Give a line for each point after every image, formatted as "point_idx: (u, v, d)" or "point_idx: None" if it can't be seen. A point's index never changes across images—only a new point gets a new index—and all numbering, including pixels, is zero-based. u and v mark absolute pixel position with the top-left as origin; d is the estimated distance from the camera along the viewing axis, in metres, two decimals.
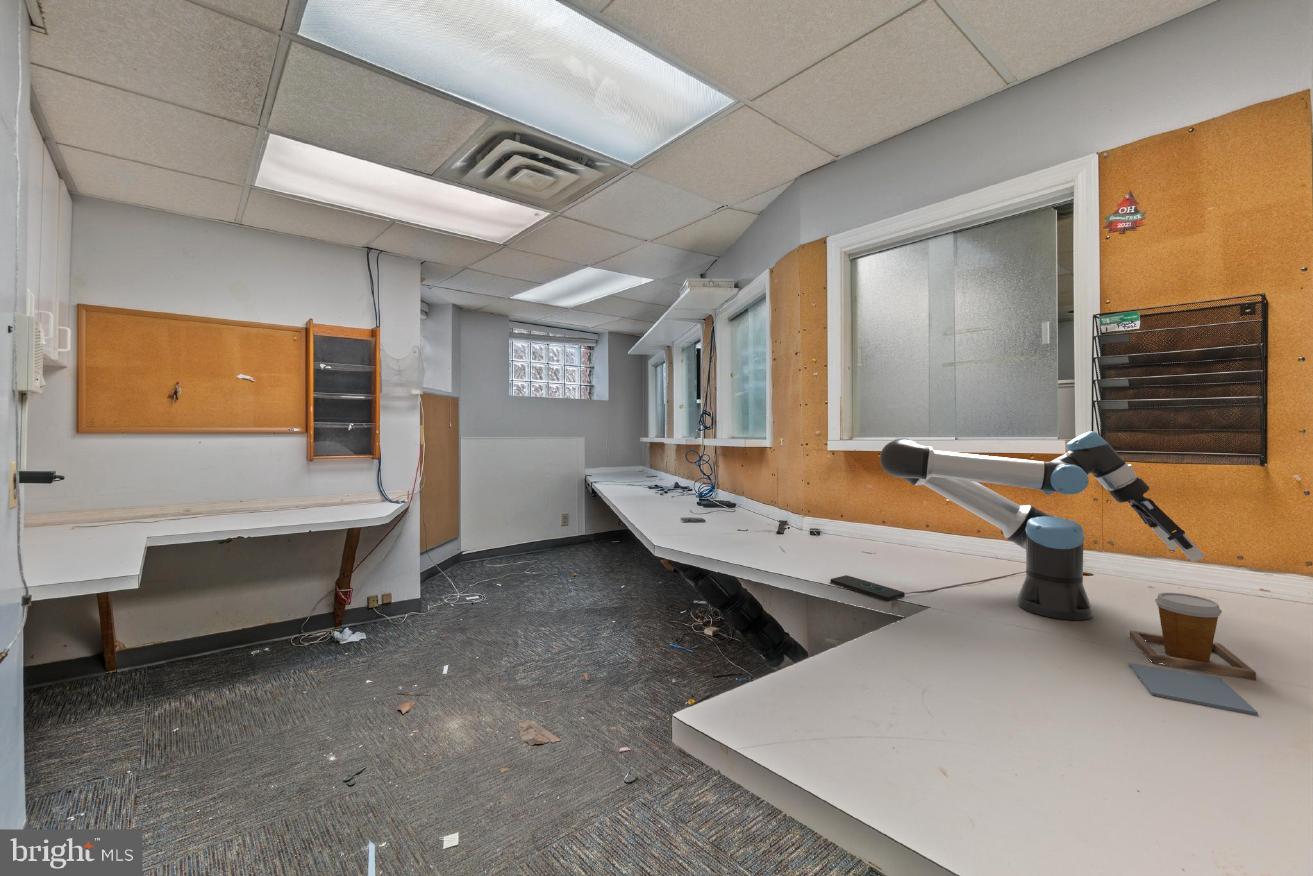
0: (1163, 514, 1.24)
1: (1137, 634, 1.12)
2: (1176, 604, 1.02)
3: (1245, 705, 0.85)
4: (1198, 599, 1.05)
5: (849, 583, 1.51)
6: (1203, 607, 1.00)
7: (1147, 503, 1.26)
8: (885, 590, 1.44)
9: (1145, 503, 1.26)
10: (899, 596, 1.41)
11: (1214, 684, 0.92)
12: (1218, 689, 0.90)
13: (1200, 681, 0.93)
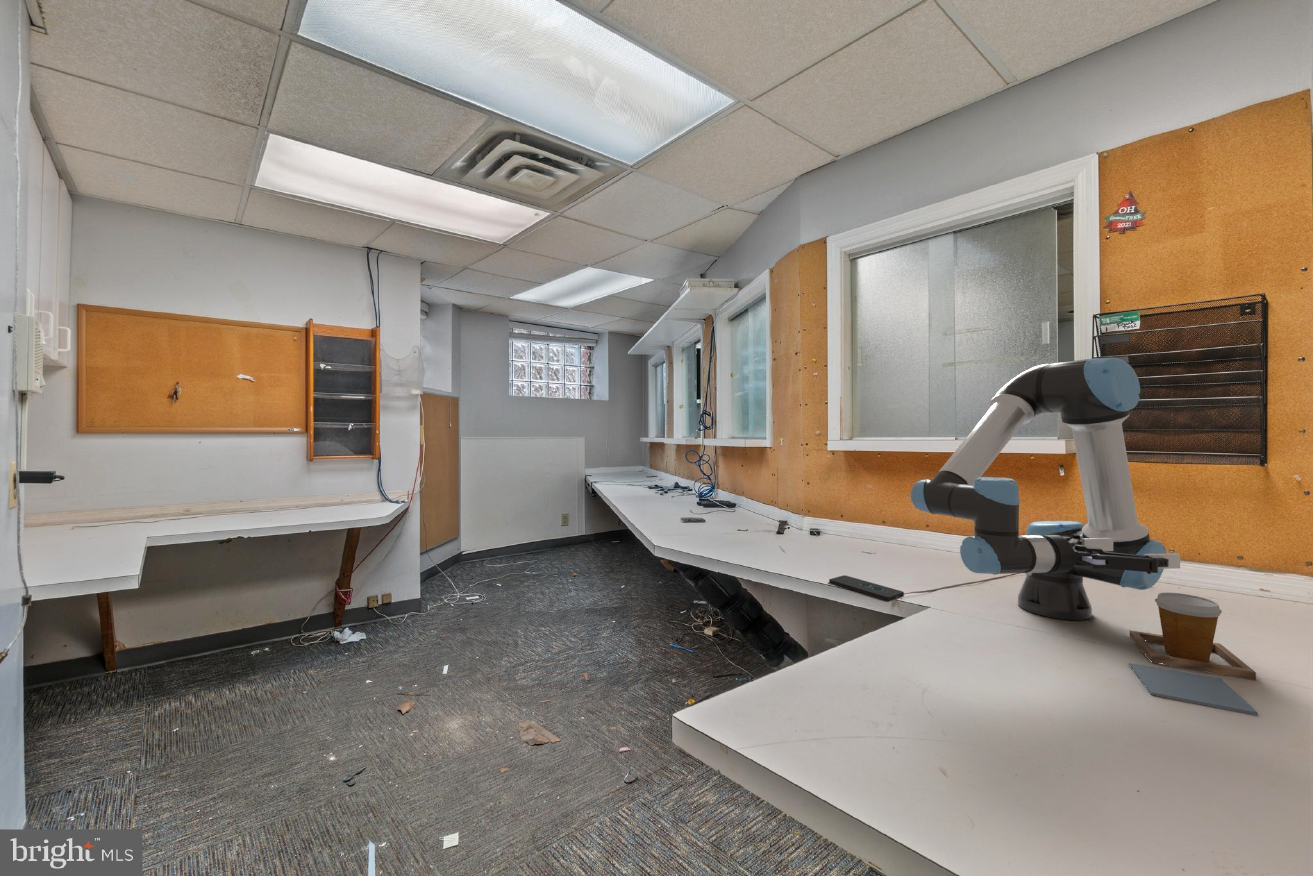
0: None
1: (1137, 634, 1.12)
2: (1176, 604, 1.02)
3: (1245, 705, 0.85)
4: (1198, 599, 1.05)
5: (848, 583, 1.51)
6: (1203, 607, 1.00)
7: None
8: (885, 590, 1.45)
9: None
10: (899, 596, 1.42)
11: (1214, 684, 0.92)
12: (1218, 689, 0.90)
13: (1200, 681, 0.93)
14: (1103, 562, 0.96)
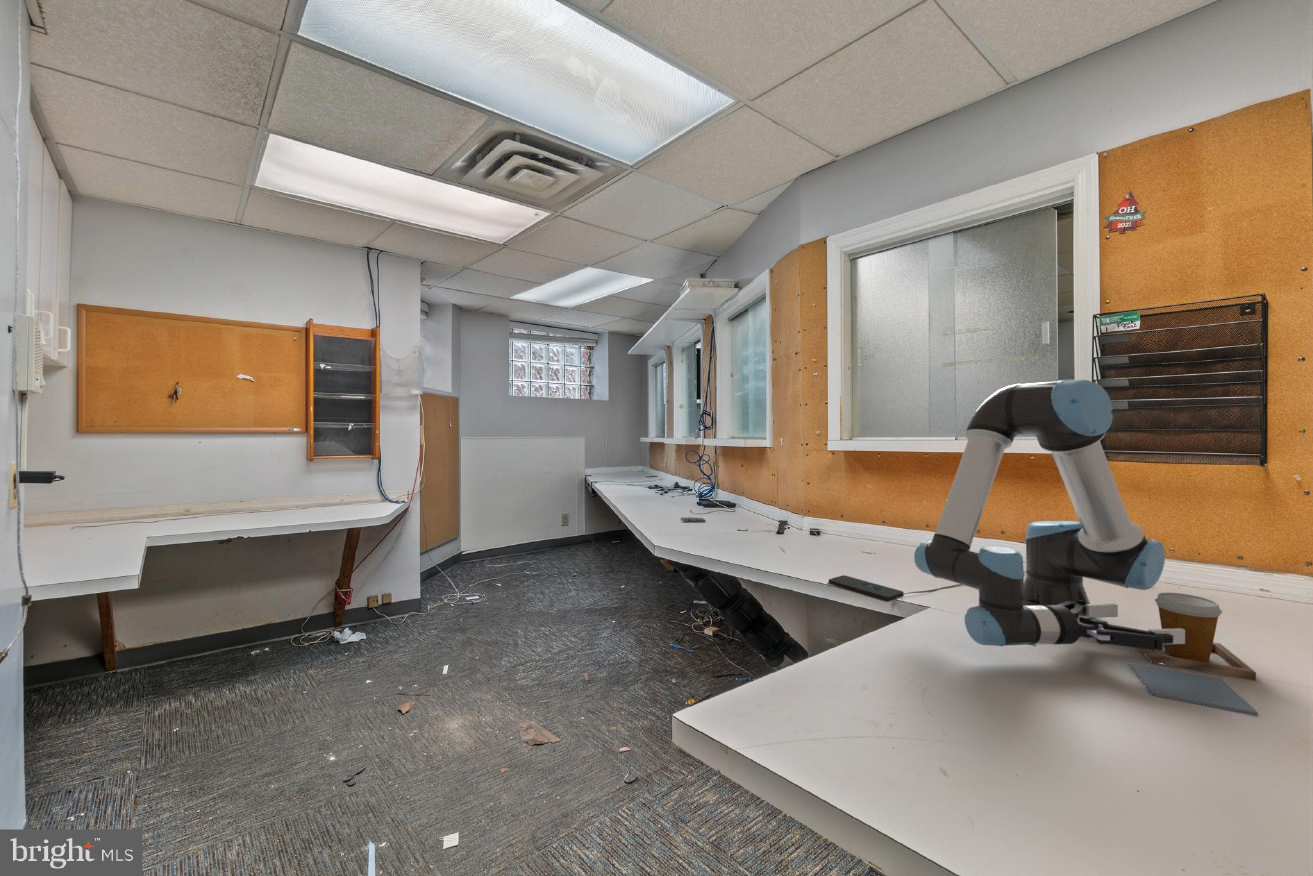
0: None
1: None
2: (1176, 604, 1.02)
3: (1245, 705, 0.85)
4: (1198, 599, 1.05)
5: (848, 583, 1.51)
6: (1203, 607, 1.00)
7: None
8: (885, 590, 1.45)
9: None
10: (899, 596, 1.42)
11: (1214, 684, 0.92)
12: (1218, 689, 0.90)
13: (1200, 681, 0.93)
14: (1108, 638, 0.96)
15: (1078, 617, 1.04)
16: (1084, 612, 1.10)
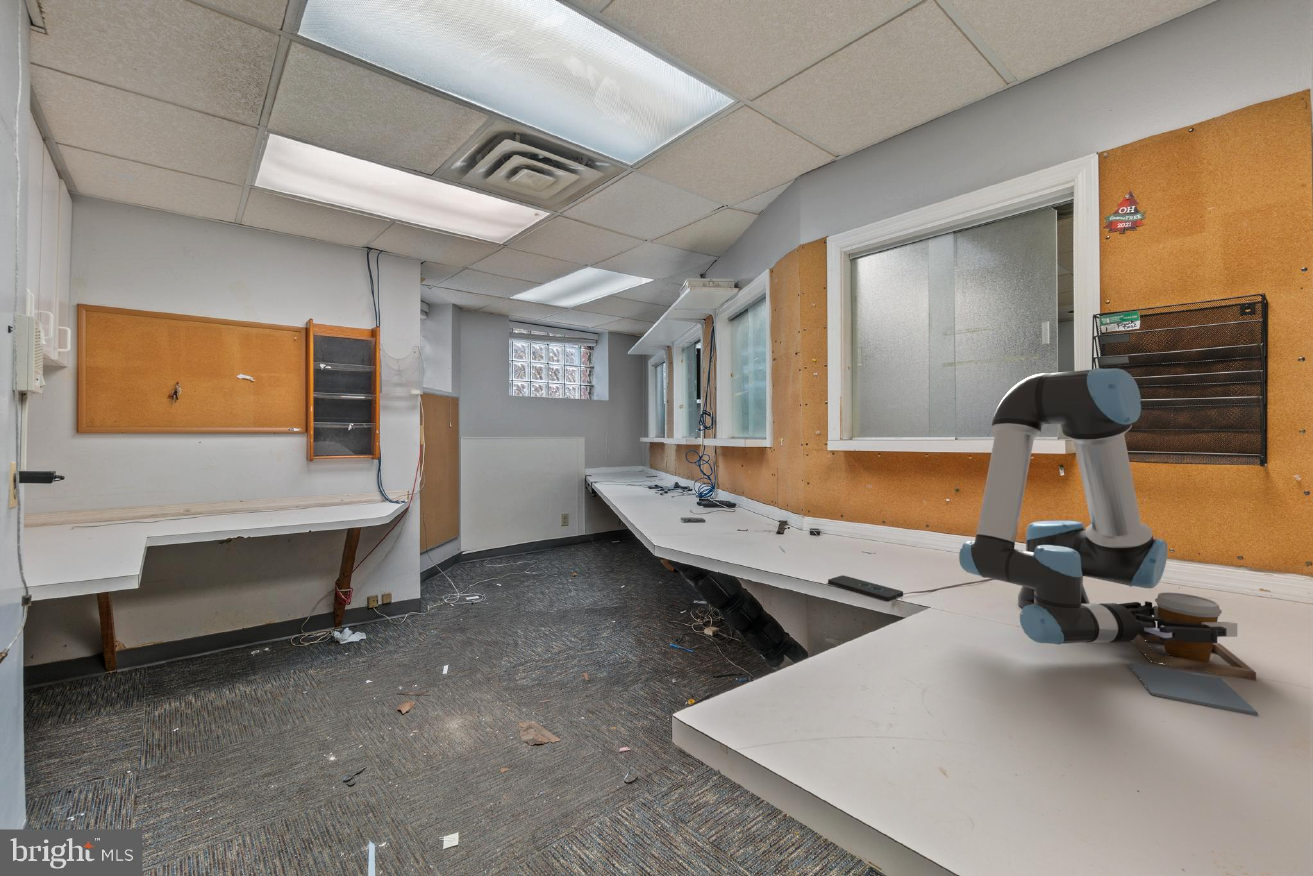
0: None
1: None
2: (1176, 604, 1.02)
3: (1245, 705, 0.85)
4: (1198, 599, 1.05)
5: (847, 583, 1.51)
6: (1203, 607, 1.00)
7: None
8: (884, 590, 1.45)
9: None
10: (898, 596, 1.42)
11: (1214, 684, 0.92)
12: (1218, 689, 0.90)
13: (1200, 681, 0.93)
14: (1171, 635, 0.97)
15: (1133, 615, 1.04)
16: (1152, 614, 1.09)
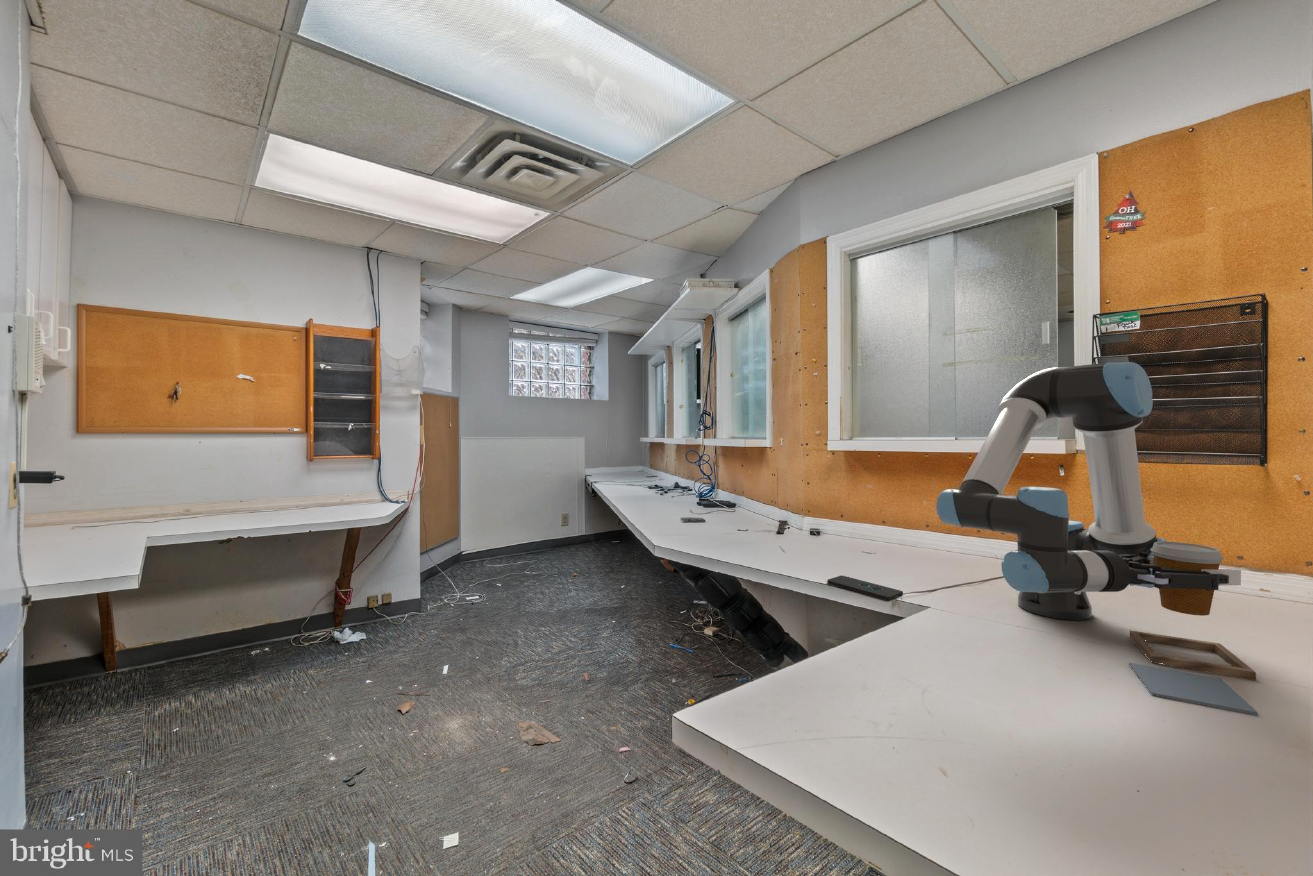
0: None
1: (1137, 634, 1.12)
2: (1173, 550, 0.93)
3: (1245, 705, 0.85)
4: (1198, 547, 0.95)
5: (847, 584, 1.51)
6: (1203, 552, 0.90)
7: None
8: (884, 590, 1.45)
9: None
10: (898, 595, 1.42)
11: (1214, 684, 0.92)
12: (1218, 689, 0.90)
13: (1200, 681, 0.93)
14: (1167, 581, 0.88)
15: None
16: None
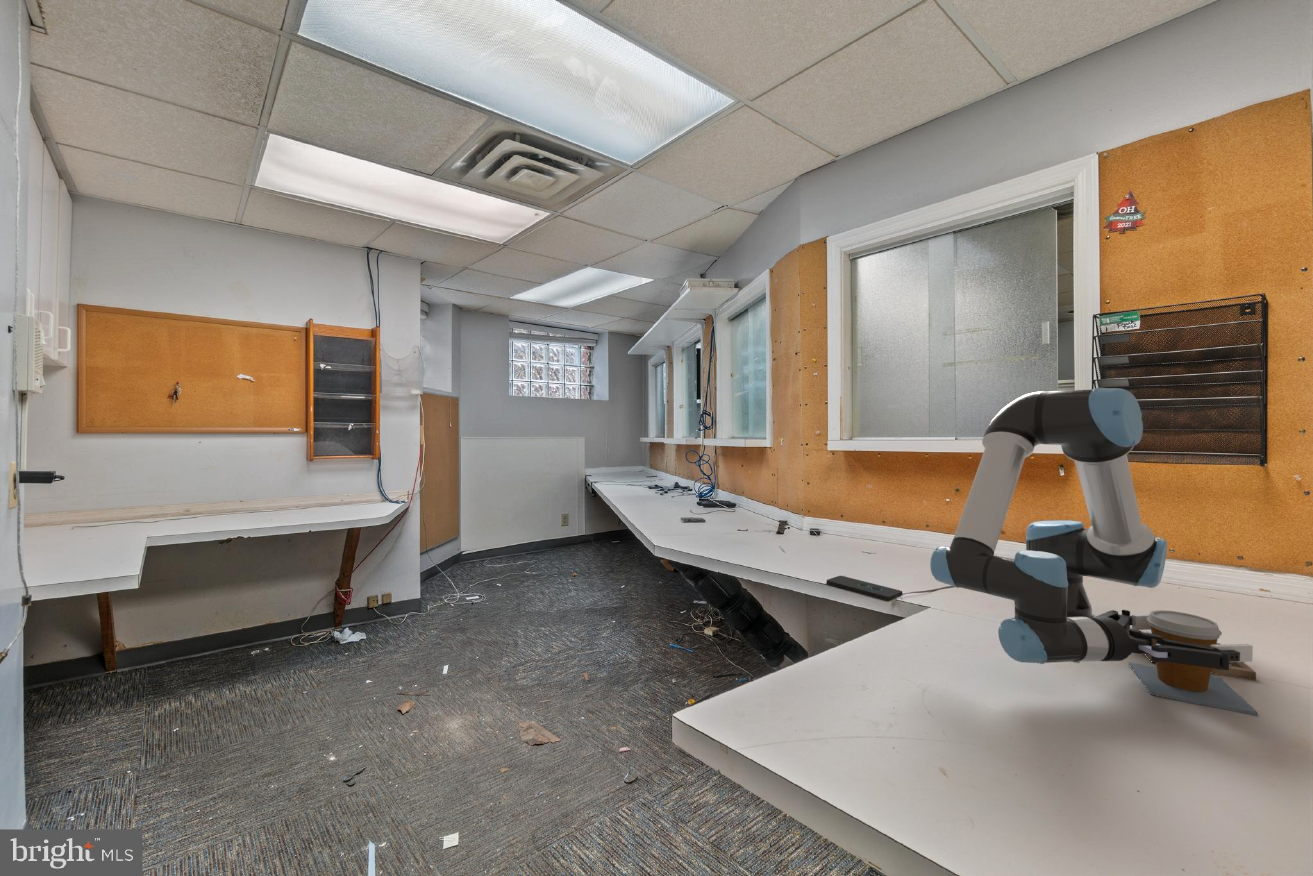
0: None
1: None
2: (1170, 624, 0.91)
3: (1245, 705, 0.85)
4: (1195, 618, 0.93)
5: (846, 584, 1.51)
6: (1201, 628, 0.88)
7: None
8: (884, 590, 1.45)
9: None
10: (898, 595, 1.42)
11: (1214, 684, 0.92)
12: (1218, 689, 0.90)
13: None
14: (1165, 655, 0.84)
15: (1127, 630, 0.92)
16: (1130, 623, 0.99)
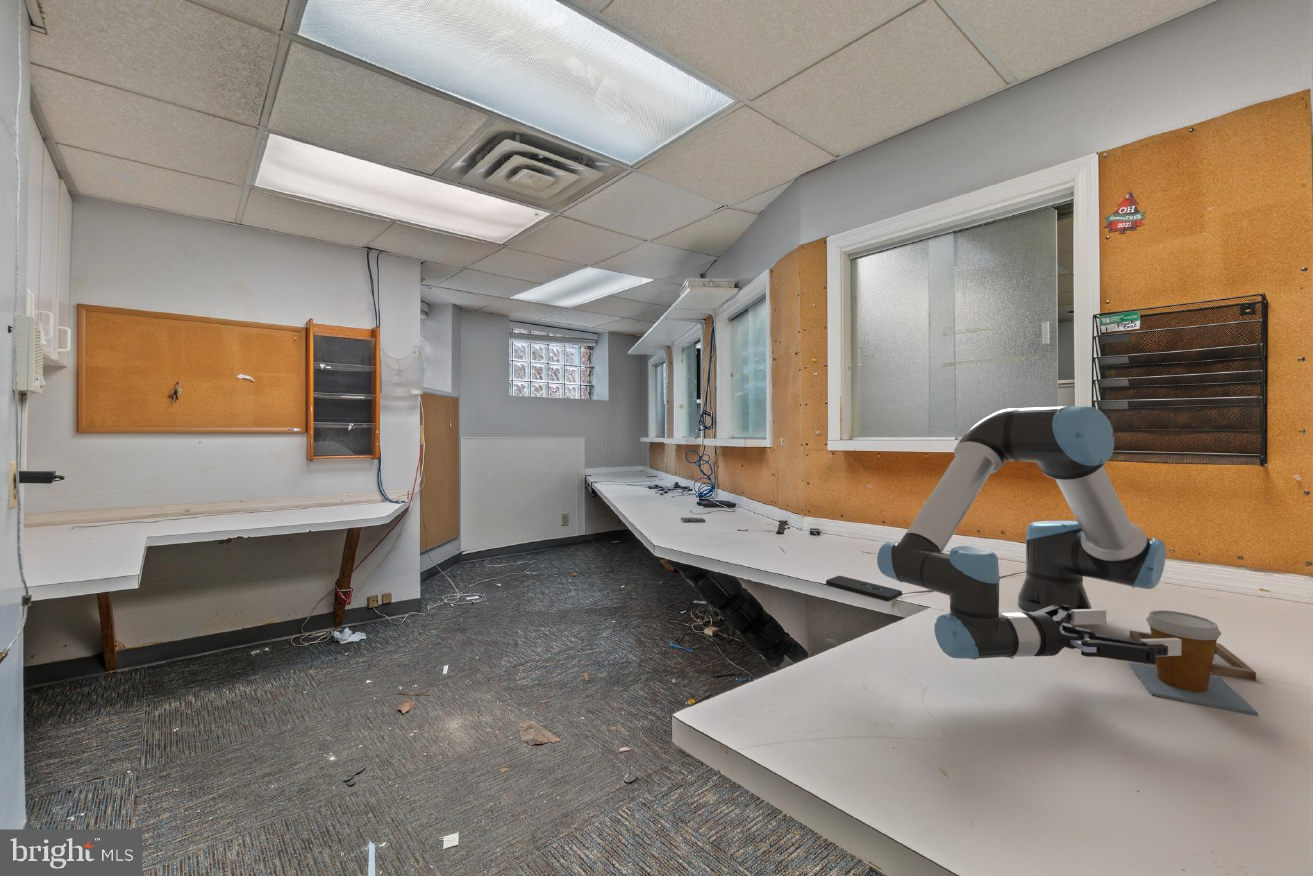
0: None
1: (1137, 634, 1.12)
2: (1170, 625, 0.91)
3: (1245, 705, 0.85)
4: (1194, 618, 0.93)
5: (846, 584, 1.50)
6: (1200, 628, 0.88)
7: None
8: (883, 590, 1.45)
9: None
10: (898, 595, 1.42)
11: (1214, 684, 0.92)
12: (1218, 689, 0.90)
13: None
14: (1094, 649, 0.84)
15: (1061, 625, 0.92)
16: (1069, 618, 0.99)
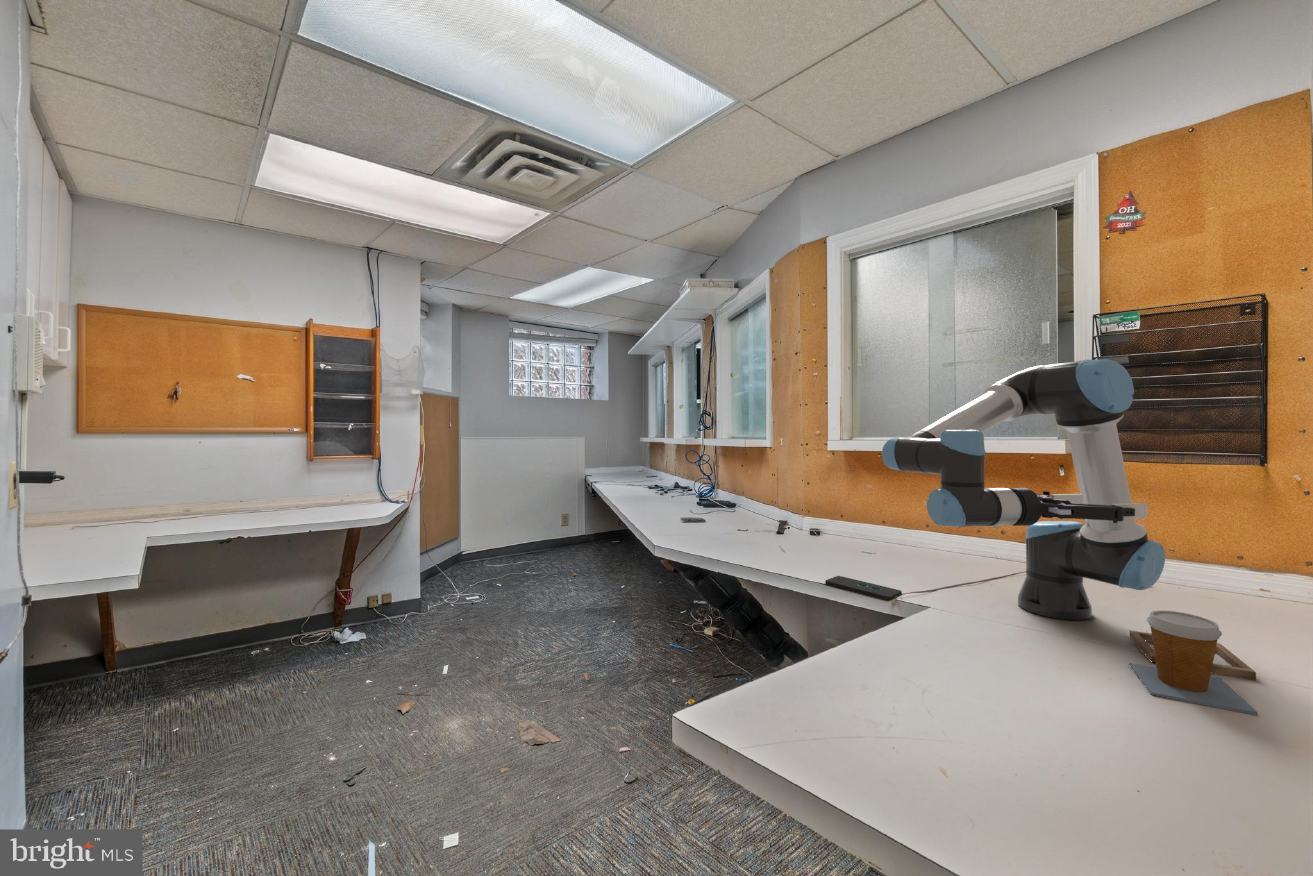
0: None
1: (1137, 634, 1.12)
2: (1171, 625, 0.90)
3: (1245, 705, 0.85)
4: (1195, 618, 0.93)
5: (845, 584, 1.50)
6: (1201, 629, 0.88)
7: None
8: (883, 589, 1.45)
9: None
10: (898, 595, 1.42)
11: (1214, 684, 0.92)
12: (1218, 689, 0.90)
13: None
14: (1069, 512, 0.94)
15: (1041, 500, 1.02)
16: None
